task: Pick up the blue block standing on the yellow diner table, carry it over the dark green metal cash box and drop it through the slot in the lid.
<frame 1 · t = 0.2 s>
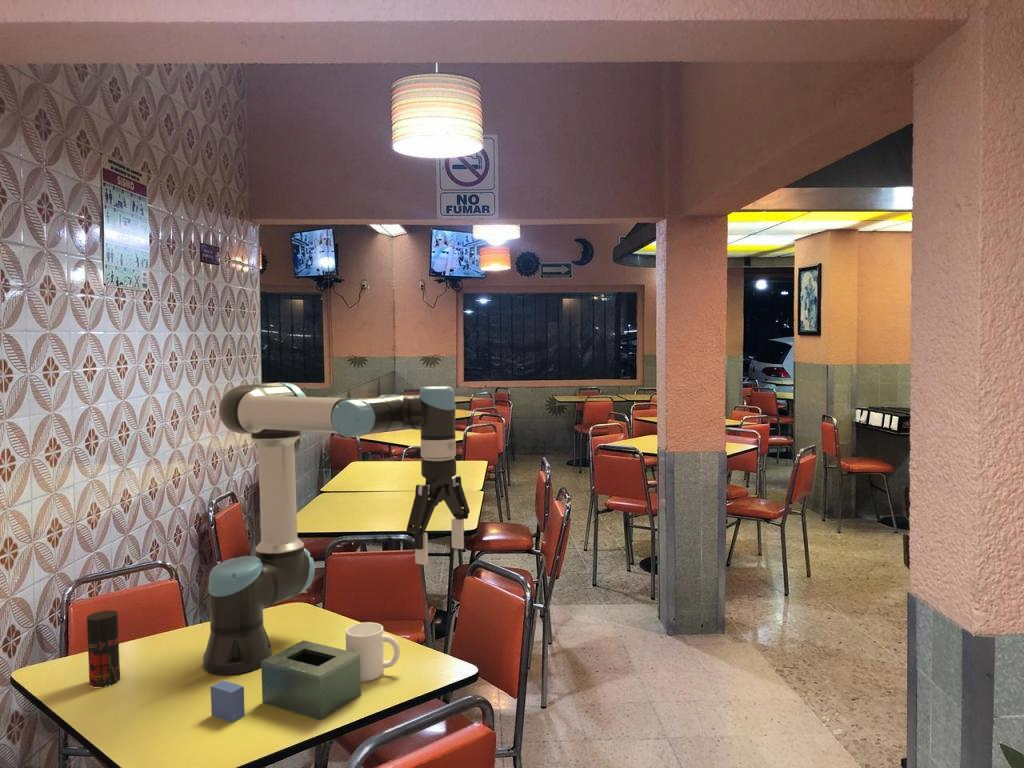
hand: (440, 555, 159), 28 cm above the table, fingers open, 13 cm apart
coin box: (312, 698, 153), on the table
mug: (373, 675, 164), on the table
blue block: (228, 715, 146), on the table
deodorant: (105, 682, 162), on the table
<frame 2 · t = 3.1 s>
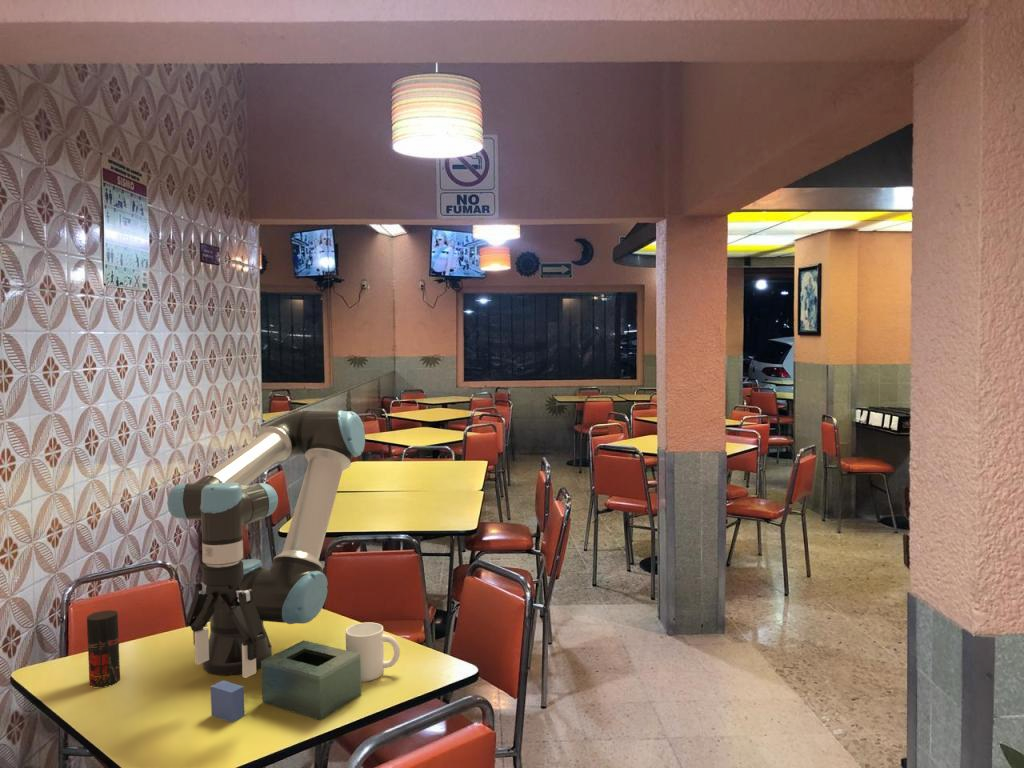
hand: (225, 668, 146), 10 cm above the table, fingers open, 13 cm apart
nothing on the table moved.
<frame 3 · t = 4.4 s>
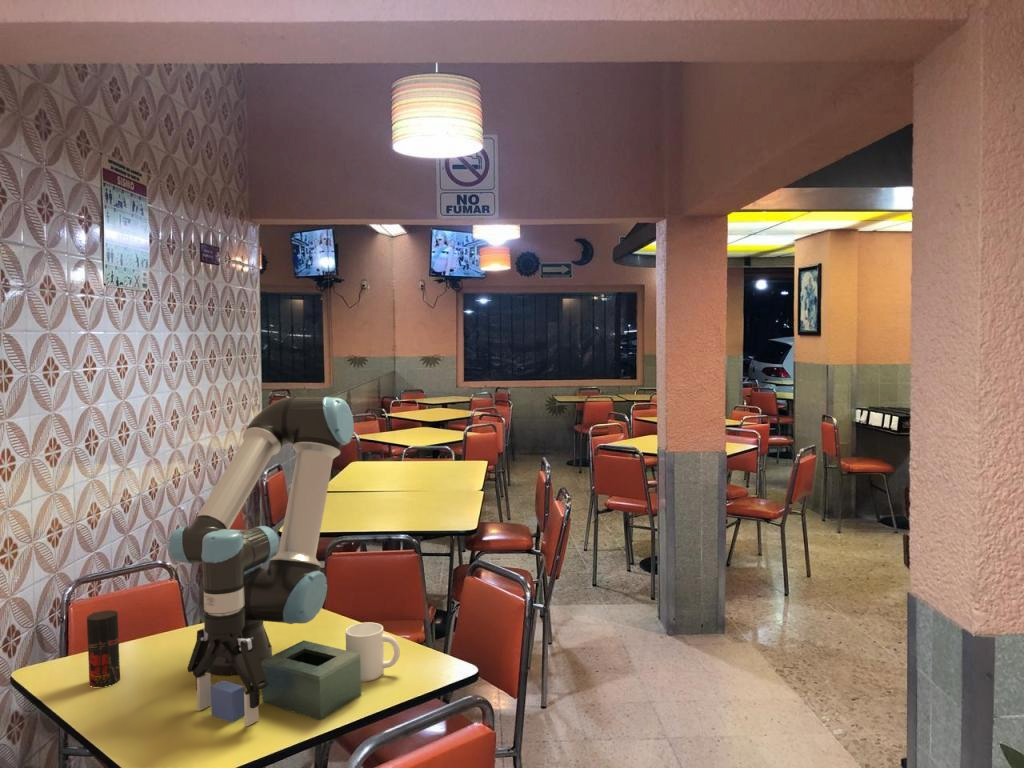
hand: (227, 715, 146), 0 cm above the table, fingers open, 13 cm apart
nothing on the table moved.
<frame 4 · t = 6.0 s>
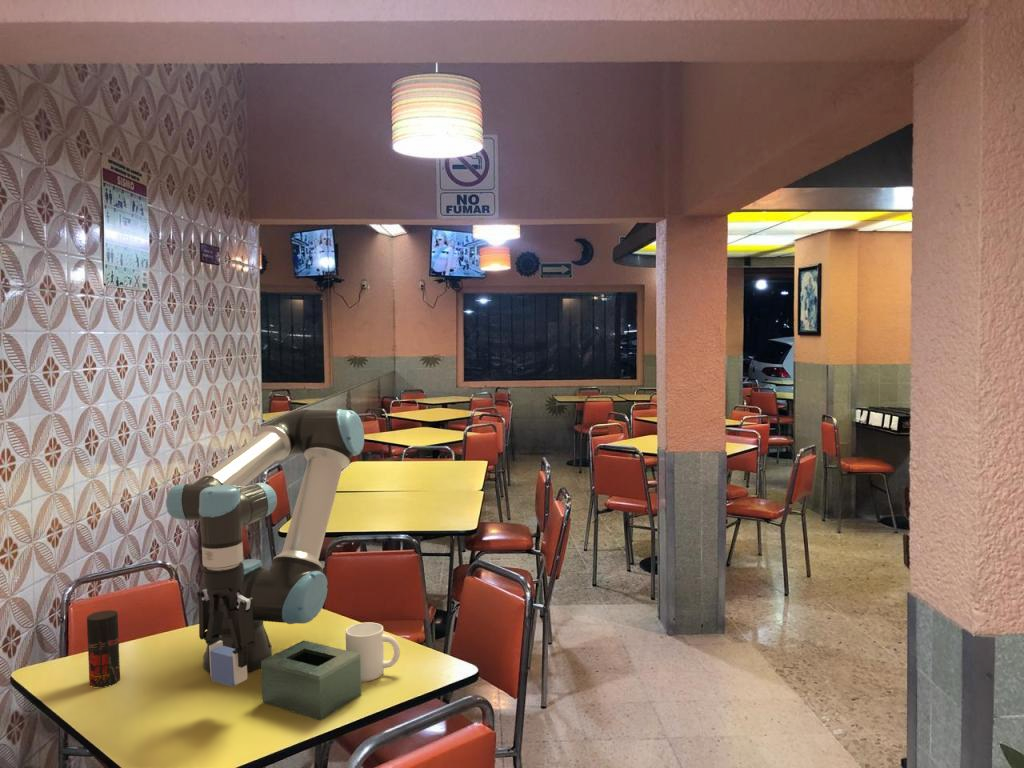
hand: (228, 677, 147), 7 cm above the table, fingers closed on blue block, 6 cm apart
blue block: (227, 680, 147), point 7 cm above the table, touching gripper
everything else where it was.
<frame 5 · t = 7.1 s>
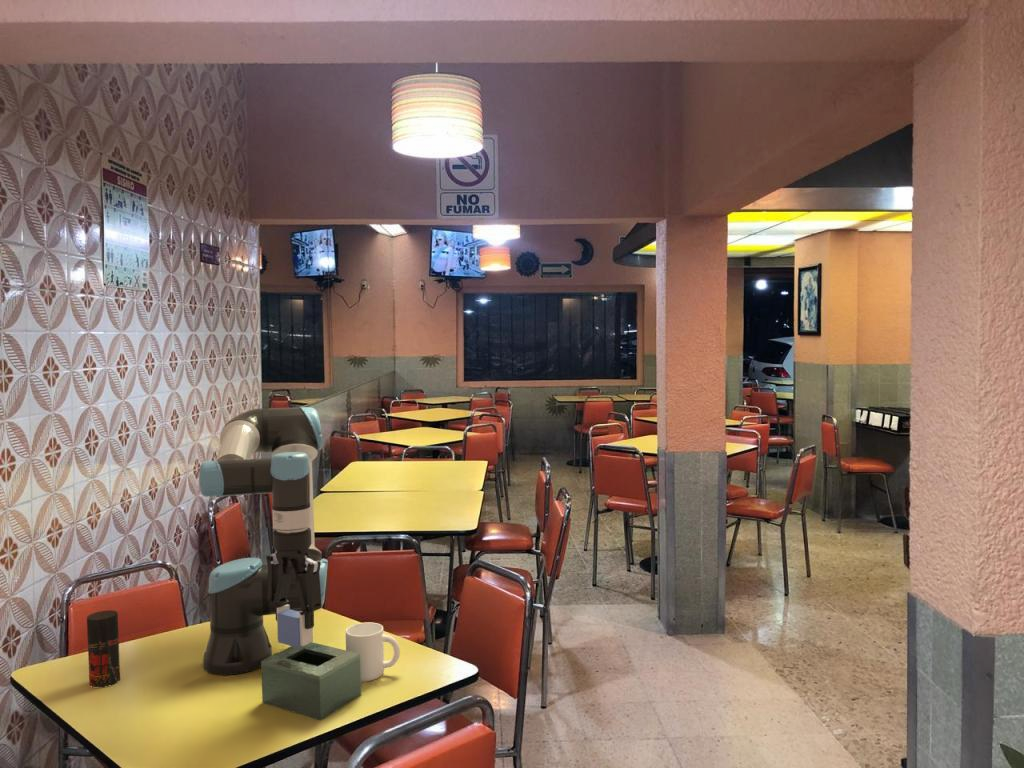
hand: (295, 640, 151), 13 cm above the table, fingers closed on blue block, 6 cm apart
blue block: (293, 642, 150), point 13 cm above the table, touching gripper
everything else where it was.
when the fingers open (10 cm above the table, at t = 8.4 s): blue block drops 9 cm, resting on coin box.
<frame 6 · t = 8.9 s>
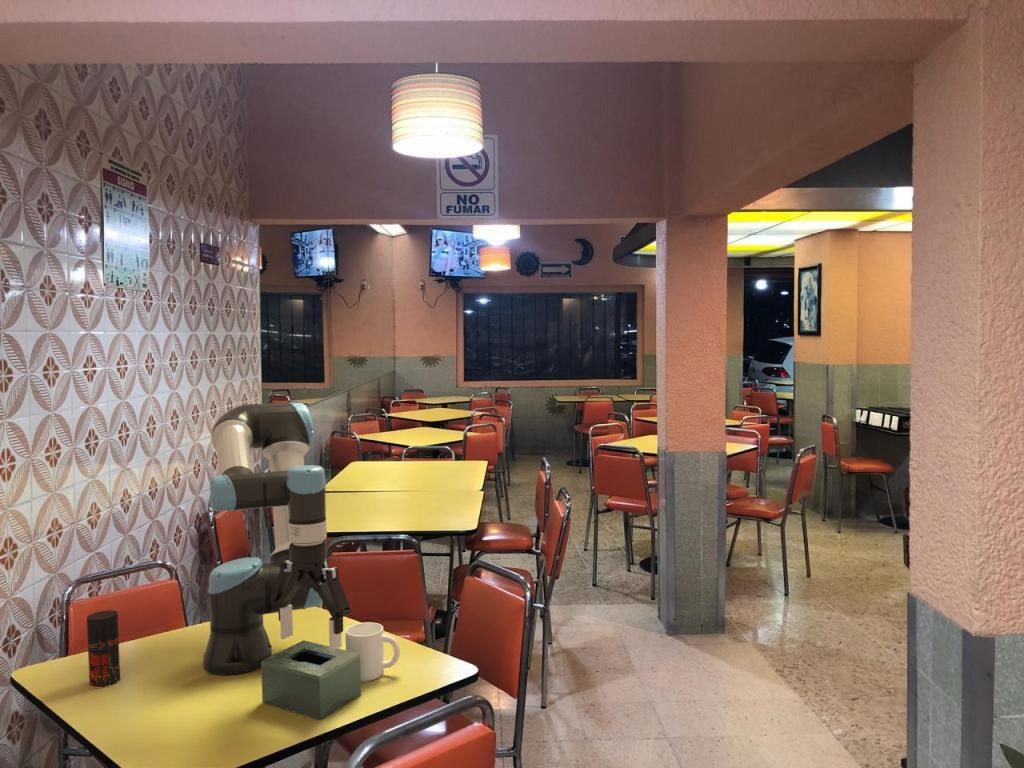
hand: (310, 642, 153), 12 cm above the table, fingers open, 13 cm apart
blue block: (310, 695, 153), point 1 cm above the table, touching coin box
everything else where it was.
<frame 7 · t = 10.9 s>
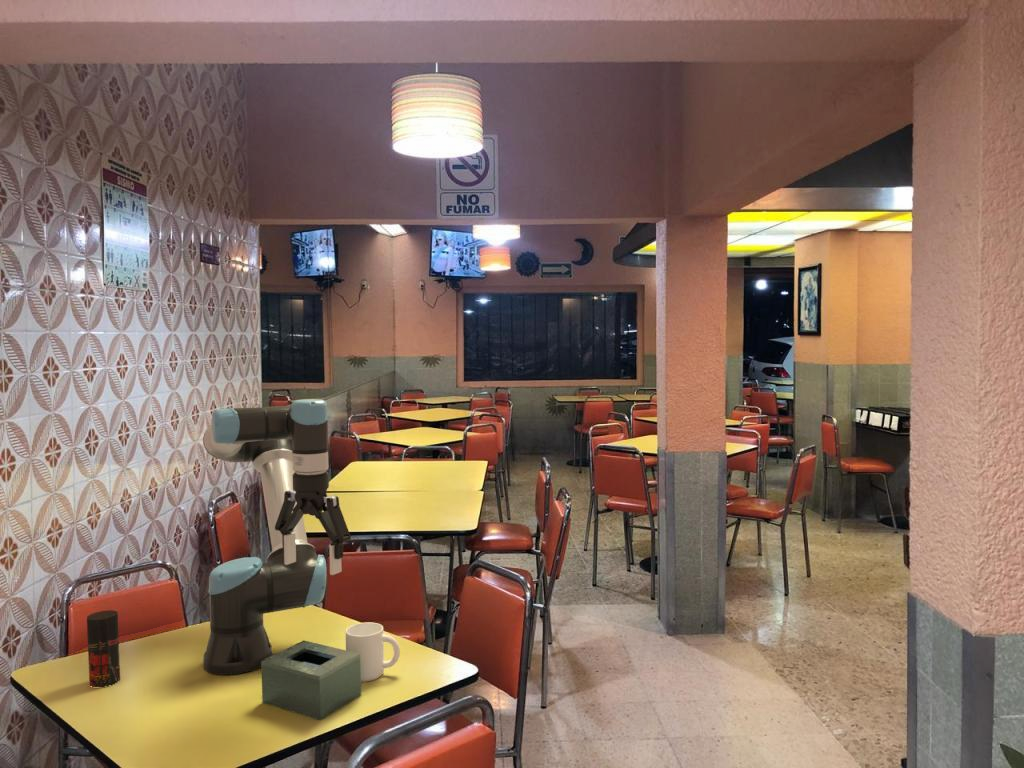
hand: (312, 568, 160), 25 cm above the table, fingers open, 13 cm apart
nothing on the table moved.
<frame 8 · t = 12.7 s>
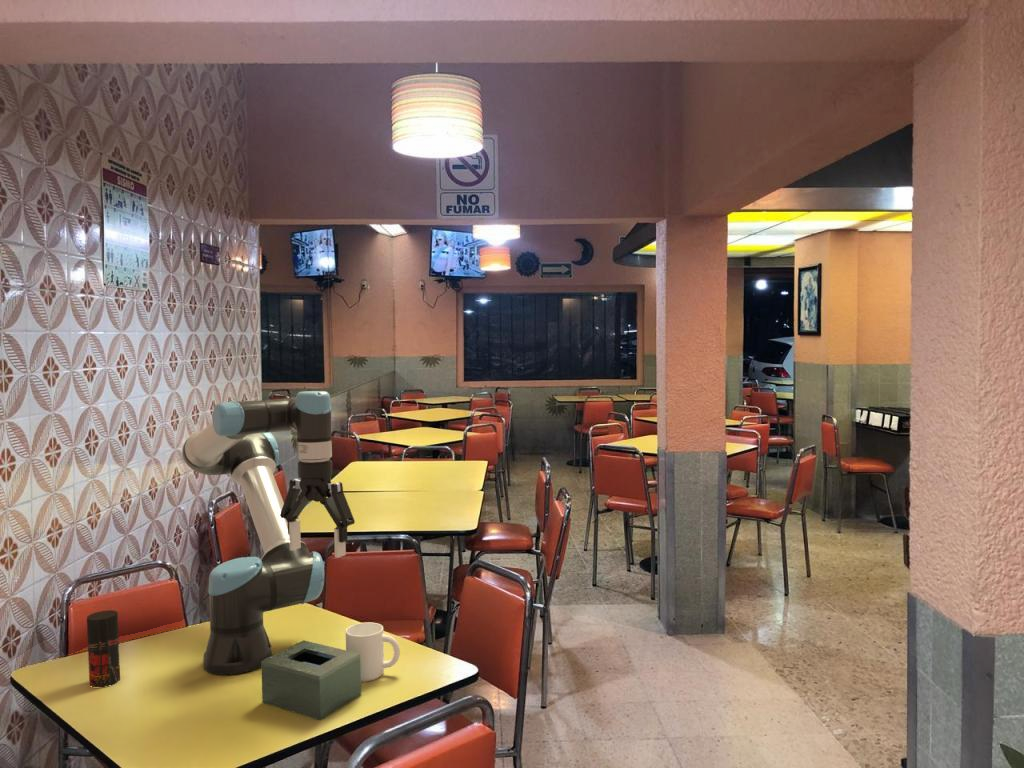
hand: (317, 552, 167), 27 cm above the table, fingers open, 13 cm apart
nothing on the table moved.
at the end: blue block inside the target area on the coin box (0.4 cm from its centre), point 0.8 cm above the coin box's base; the gripper is holding nothing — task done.
